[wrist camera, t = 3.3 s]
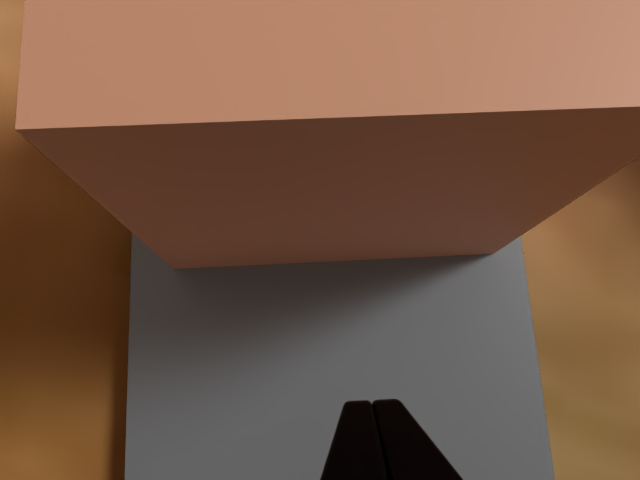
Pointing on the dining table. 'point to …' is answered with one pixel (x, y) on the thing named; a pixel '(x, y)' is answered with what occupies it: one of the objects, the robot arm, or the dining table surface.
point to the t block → (331, 119)
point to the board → (330, 363)
